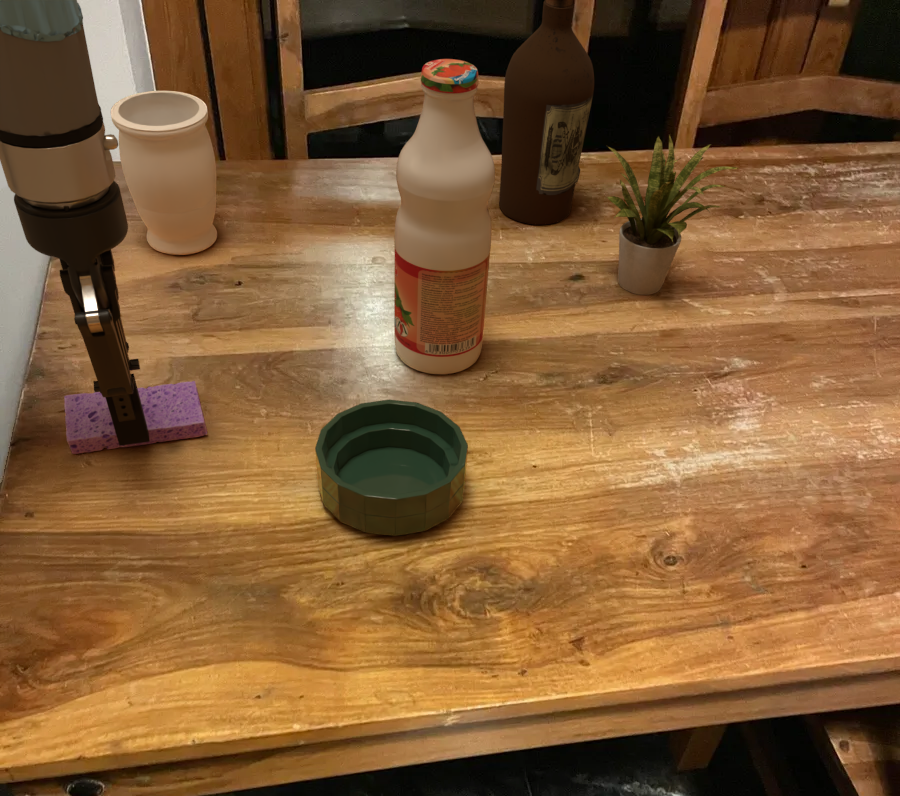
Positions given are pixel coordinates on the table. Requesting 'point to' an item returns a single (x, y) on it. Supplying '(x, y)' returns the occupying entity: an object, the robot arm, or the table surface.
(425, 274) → the fruit juice
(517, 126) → the olive oil
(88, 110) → the robot arm
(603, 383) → the table surface
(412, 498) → the dish
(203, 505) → the table surface
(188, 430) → the sponge
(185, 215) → the jar
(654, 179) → the house plant
